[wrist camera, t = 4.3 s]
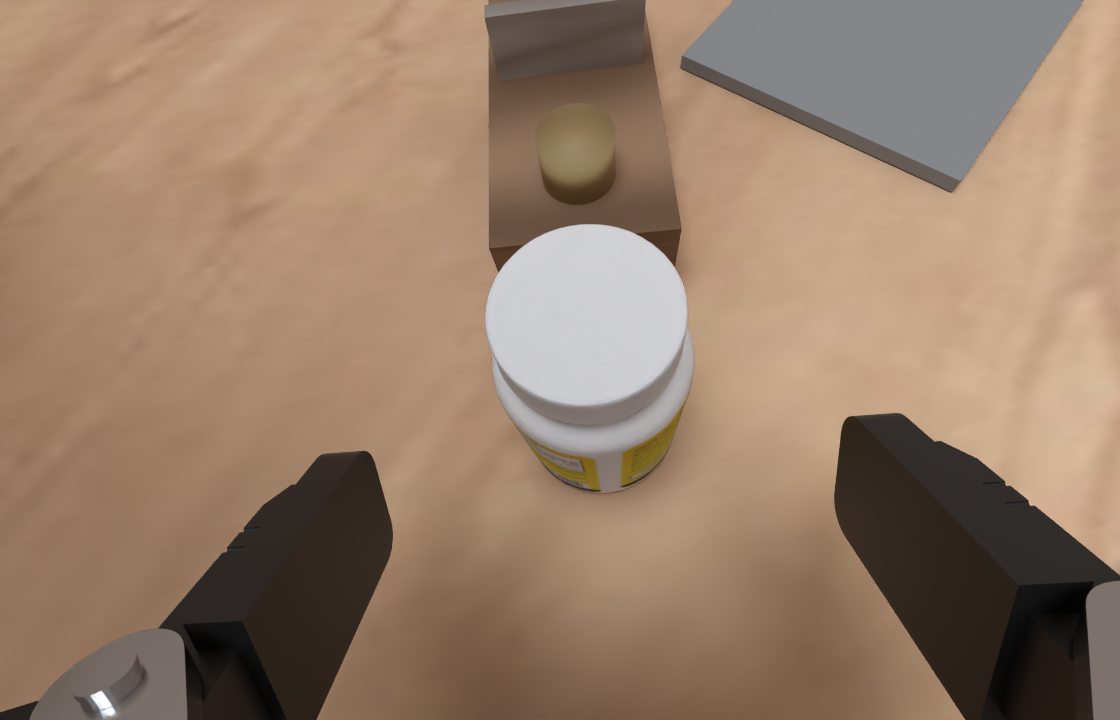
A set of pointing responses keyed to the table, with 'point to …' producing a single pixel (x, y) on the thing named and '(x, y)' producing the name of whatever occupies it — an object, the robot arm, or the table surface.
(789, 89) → the felt mat
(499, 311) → the supplement bottle
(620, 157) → the plane body
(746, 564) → the table surface
